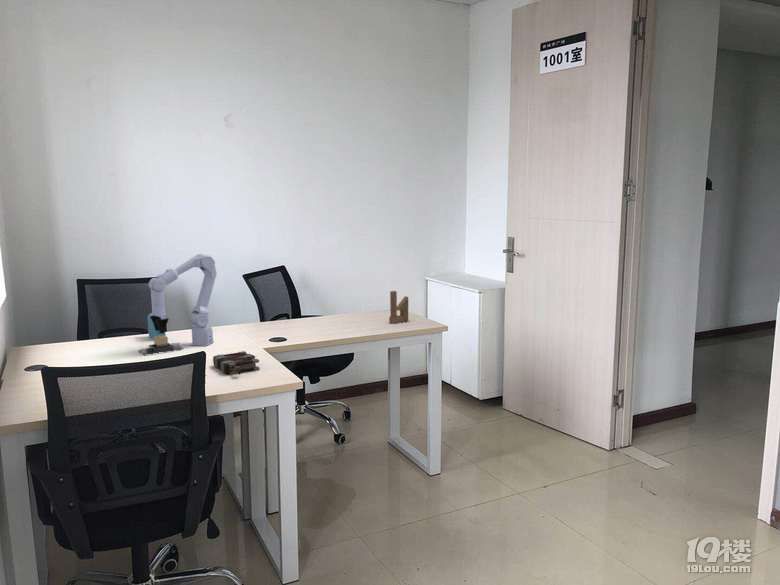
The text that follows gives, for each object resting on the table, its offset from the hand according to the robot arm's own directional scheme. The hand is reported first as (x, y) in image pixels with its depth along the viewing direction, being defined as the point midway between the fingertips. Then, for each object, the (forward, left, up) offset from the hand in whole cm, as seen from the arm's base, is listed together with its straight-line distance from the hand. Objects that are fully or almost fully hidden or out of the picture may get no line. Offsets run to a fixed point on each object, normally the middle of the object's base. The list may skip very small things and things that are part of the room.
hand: (160, 331), depth 302 cm
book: (-50, +26, -10) cm, 57 cm away
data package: (+16, -23, -9) cm, 30 cm away
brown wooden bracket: (-101, -77, -9) cm, 128 cm away
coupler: (0, 0, -8) cm, 8 cm away
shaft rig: (0, 0, -9) cm, 9 cm away
